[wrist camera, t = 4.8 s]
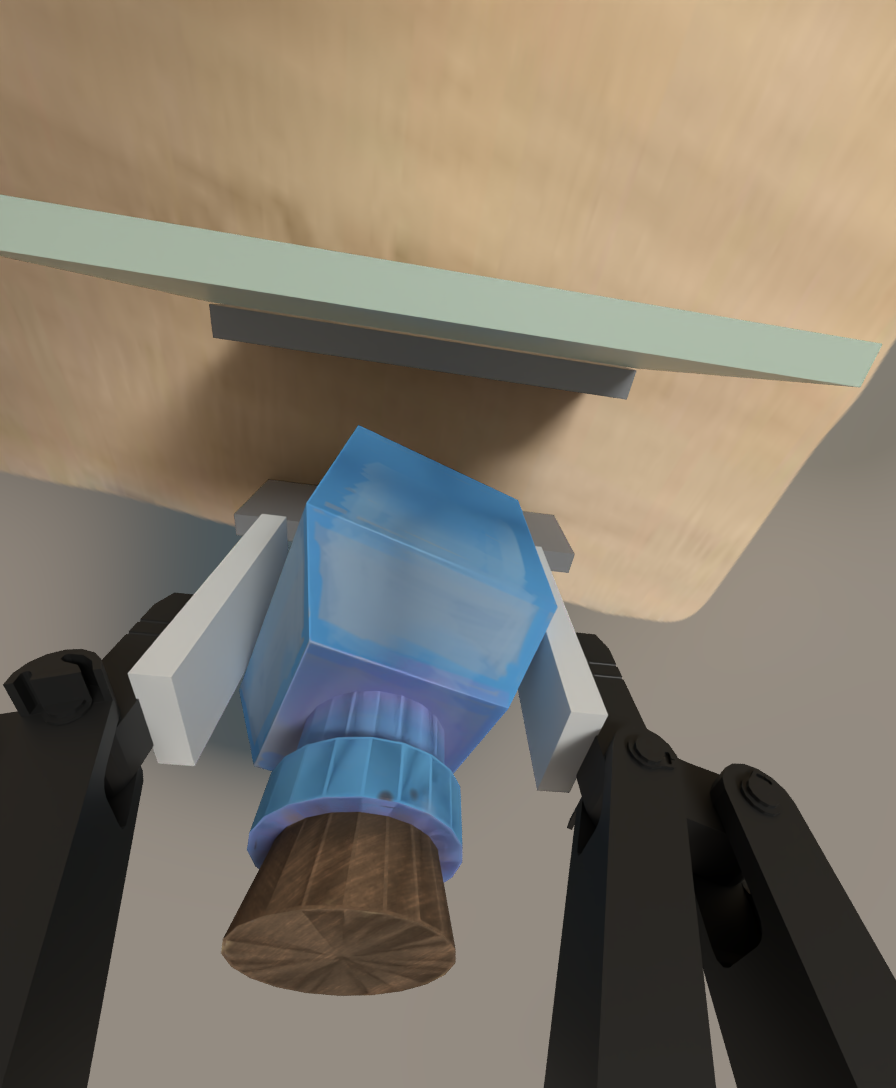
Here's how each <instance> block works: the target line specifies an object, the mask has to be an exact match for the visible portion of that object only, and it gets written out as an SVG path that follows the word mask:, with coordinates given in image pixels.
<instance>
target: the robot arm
mask: <svg viewBox="0 0 896 1088" xmlns="http://www.w3.org/2000/svg"><path fill="white" fill-rule="evenodd" d="M535 547H536V550H537V553H538V555H539V558H540V561H541V564H542V566H543V569H544V572H545V574H546V577H547V580H548V582H549V585H550V588H551V590H552V593H553V596H554V598H555V601H556V604H557V609H556V612H555V614H554V616H553V618H552V620H551V622H550V624H549V626H548V628H547V630H546V632H545V634H544V636H543V638H542V640H541V642H540V644H539V647H538V649H537V651H536V653H535V655H534V657H533V659H532V661H531V663H530V665H529V667H528V669H527V671H526V673H525V675H524V677H523V679H522V682H521V684H520V686H519V688H518V692H519V698H520V703H521V708H522V713H523V718H524V724H525V729H526V734H527V739H528V744H529V750H530V755H531V760H532V766H533V771H534V776H535V781H536V786H537V790H539V791H552V792H567V793H569V792H570V790H571V788H572V786H573V784H574V782H575V780H576V778H577V781H578V784H579V788H580V792H581V795H582V797H581V799H580V801H579V803H578V805H577V807H576V808H575V811H574V812H573V814H572V816H571V818H570V821H569V823H568V826H567V828H569V829H571V830H572V828H573V826H574V825H575V826H574V835H573V843H572V852H571V860H570V869H569V877H568V886H567V895H566V903H565V911H564V920H563V929H562V938H561V946H560V955H559V963H558V971H557V980H556V988H555V997H554V1006H553V1014H552V1022H551V1031H550V1039H549V1048H548V1057H547V1065H546V1075H545V1082H544V1088H716V1084H715V1075H714V1066H713V1057H712V1047H711V1039H710V1029H709V1020H708V1011H707V1002H706V993H705V984H704V974H705V977H706V981H707V984H708V988H709V991H710V995H711V998H712V1002H713V1005H714V1008H715V1012H716V1015H717V1019H718V1022H719V1026H720V1029H721V1033H722V1036H723V1040H724V1043H725V1047H726V1050H727V1054H728V1057H729V1060H730V1064H731V1068H732V1071H733V1074H734V1078H735V1082H736V1085H737V1088H896V980H895V978H894V976H893V975H892V973H891V971H890V969H889V967H888V966H887V964H886V962H885V960H884V959H883V957H882V955H881V953H880V952H879V950H878V948H877V946H876V944H875V943H874V941H873V939H872V937H871V936H870V934H869V932H868V931H867V929H866V927H865V925H864V924H863V922H862V920H861V919H860V916H859V915H858V913H857V911H856V909H855V908H854V906H853V904H852V902H851V901H850V899H849V897H848V895H847V894H846V892H845V890H844V888H843V887H842V885H841V883H840V881H839V880H838V878H837V876H836V874H835V873H834V871H833V869H832V867H831V866H830V864H829V862H828V861H827V859H826V857H825V855H824V853H823V852H822V850H821V848H820V846H819V845H818V843H817V841H816V839H815V838H814V836H813V834H812V833H811V831H810V829H809V827H808V825H807V824H806V822H805V820H804V819H803V817H802V815H801V813H800V811H799V810H798V808H797V806H796V804H795V803H794V801H793V800H792V799H791V797H790V796H789V795H788V793H787V792H786V791H785V789H783V788H782V787H781V786H780V785H779V784H778V783H777V782H776V781H775V780H773V779H772V778H771V777H770V776H768V775H766V774H765V773H763V772H762V771H760V770H758V769H756V768H754V767H751V766H748V765H745V764H731V765H729V766H727V767H726V768H725V769H724V770H723V771H722V772H721V774H720V775H719V774H717V773H714V772H711V771H709V770H706V769H703V768H701V767H698V766H695V765H693V764H690V763H687V762H685V761H683V760H681V759H679V758H677V756H676V754H675V753H674V751H673V750H672V748H671V747H670V745H669V744H668V743H666V742H665V741H664V740H663V739H662V738H661V737H660V736H658V735H657V734H655V733H653V732H651V731H649V730H648V729H647V728H646V726H645V724H644V722H643V720H642V718H641V716H640V714H639V711H638V709H637V707H636V705H635V703H634V701H633V699H632V697H631V695H630V692H629V690H628V688H627V686H626V684H625V682H624V680H622V676H621V673H620V671H619V669H618V667H616V663H615V661H614V659H613V657H612V654H611V652H610V650H609V648H607V646H606V645H605V644H604V643H603V642H602V641H601V640H600V639H599V638H598V637H597V636H596V635H595V634H585V633H575V630H574V628H573V626H572V623H571V620H570V618H569V616H568V613H567V610H566V608H565V605H564V603H563V600H562V598H561V595H560V592H559V590H558V587H557V585H556V582H555V580H554V577H553V575H552V572H551V570H550V567H549V565H548V562H547V560H546V557H545V555H544V552H543V550H542V547H538V546H535ZM287 555H288V538H287V520H286V517H285V516H276V515H268V514H261V515H260V517H259V518H258V519H257V520H256V521H255V522H254V524H253V525H252V526H251V527H250V528H249V530H248V531H247V532H246V533H245V534H244V536H243V537H242V538H241V539H240V540H239V542H238V543H237V544H236V545H235V547H233V549H232V550H231V551H230V552H229V554H228V555H227V556H226V557H225V558H224V559H223V561H222V562H221V563H220V564H219V565H218V567H217V568H216V569H215V570H214V571H213V572H212V574H211V575H210V576H209V577H208V578H207V580H206V581H205V582H204V583H203V584H202V586H201V587H200V588H199V589H198V590H197V591H196V593H195V594H194V595H193V594H183V593H173V594H171V595H170V596H168V597H166V598H164V599H163V600H161V601H159V602H158V603H156V604H154V605H153V606H152V607H151V609H149V611H148V612H147V613H146V614H145V615H144V616H143V617H142V618H141V621H140V622H137V623H136V624H135V625H134V626H133V628H132V629H131V630H130V631H129V634H126V635H125V636H124V637H123V638H122V639H121V640H120V642H118V643H117V644H116V646H115V647H114V648H113V649H112V650H111V651H110V652H109V653H108V654H107V655H106V656H105V657H104V658H103V660H101V658H99V656H98V655H97V654H96V653H94V652H91V651H87V650H83V649H73V650H63V651H59V652H54V653H50V654H47V655H44V656H42V657H40V658H37V659H35V660H33V661H31V662H29V663H27V664H25V665H24V666H23V667H21V668H20V669H18V670H17V671H15V672H14V673H13V674H12V675H11V676H10V677H9V678H8V679H7V681H6V682H5V683H4V684H3V686H4V687H5V689H6V691H7V693H8V695H9V696H10V698H11V700H12V701H13V704H14V705H15V707H16V709H17V712H11V713H5V714H0V1088H87V1085H88V1079H89V1074H90V1067H91V1062H92V1058H93V1052H94V1047H95V1041H96V1035H97V1029H98V1025H99V1019H100V1014H101V1008H102V1002H103V998H104V992H105V987H106V981H107V976H108V970H109V965H110V959H111V954H112V948H113V943H114V937H115V931H116V927H117V921H118V916H119V910H120V905H121V899H122V894H123V889H124V883H125V877H126V871H127V867H128V861H129V855H130V850H131V845H132V840H133V833H134V829H135V823H136V817H137V812H138V807H139V801H140V796H141V790H142V785H143V770H142V768H141V764H142V763H143V761H144V759H145V758H146V757H147V755H148V753H149V752H150V750H151V749H152V747H153V750H154V753H155V756H156V759H157V762H158V763H159V764H173V765H187V766H195V765H196V763H197V761H198V759H199V757H200V755H201V753H202V751H203V750H204V748H205V746H206V744H207V742H208V740H209V738H210V736H211V734H212V733H213V731H214V729H215V727H216V725H217V723H218V721H219V719H220V717H221V716H222V714H223V712H224V710H225V708H226V706H227V704H228V702H229V701H230V699H231V697H232V695H233V693H234V691H235V689H236V687H237V685H238V683H239V682H240V680H241V678H242V676H243V674H244V672H245V670H246V669H247V666H248V664H249V661H250V658H251V655H252V653H253V650H254V647H255V644H256V641H257V639H258V636H259V633H260V630H261V628H262V625H263V622H264V619H265V616H266V614H267V611H268V608H269V605H270V603H271V600H272V597H273V594H274V591H275V589H276V586H277V583H278V580H279V578H280V575H281V572H282V569H283V566H284V564H285V561H286V558H287ZM703 970H704V974H703Z"/></svg>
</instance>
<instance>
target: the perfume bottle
mask: <svg viewBox="0 0 896 1088" xmlns="http://www.w3.org/2000/svg"><path fill="white" fill-rule="evenodd" d="M556 609H557V604H556V601H555V598H554V596H553V593H552V590H551V588H550V585H549V582H548V580H547V577H546V574H545V572H544V569H543V566H542V564H541V561H540V558H539V555H538V553H537V550H536V547H535V545H534V542H533V539H532V537H531V534H530V531H529V529H528V526H527V523H526V520H525V518H524V515H523V512H522V510H521V507H520V504H519V502H518V500H516V499H514V498H512V497H510V496H508V495H506V494H504V493H502V492H499V491H497V490H495V489H493V488H491V487H489V486H487V485H485V484H482V483H480V482H478V481H476V480H474V479H472V478H470V477H468V476H465V475H463V474H461V473H459V472H457V471H455V470H453V469H451V468H449V467H446V466H444V465H442V464H440V463H438V462H436V461H434V460H432V459H429V458H427V457H425V456H423V455H421V454H419V453H417V452H415V451H412V450H410V449H408V448H406V447H404V446H402V445H400V444H398V443H396V442H393V441H391V440H389V439H387V438H385V437H383V436H381V435H379V434H376V433H374V432H372V431H370V430H368V429H366V428H364V427H362V426H359V425H358V426H357V428H356V429H355V431H354V432H353V434H352V435H351V437H350V438H349V440H348V441H347V443H346V444H345V446H344V447H343V449H342V450H341V452H340V453H339V455H338V456H337V458H336V459H335V461H334V462H333V464H332V465H331V467H330V468H329V470H328V471H327V473H326V474H325V476H324V477H323V479H322V480H321V482H320V483H319V485H318V486H317V488H316V489H315V491H314V492H313V494H312V495H311V497H310V498H309V500H308V501H307V503H306V505H305V508H304V511H303V514H302V517H301V519H300V522H299V525H298V528H297V530H296V533H295V536H294V539H293V541H292V544H291V547H290V550H289V553H288V555H287V558H286V561H285V564H284V566H283V569H282V572H281V575H280V578H279V580H278V583H277V586H276V589H275V591H274V594H273V597H272V600H271V603H270V605H269V608H268V611H267V614H266V616H265V619H264V622H263V625H262V628H261V630H260V633H259V636H258V639H257V641H256V644H255V647H254V650H253V653H252V655H251V658H250V661H249V664H248V666H247V669H246V672H245V675H244V678H243V680H242V683H241V686H240V689H239V693H240V698H241V703H242V707H243V713H244V718H245V723H246V728H247V733H248V738H249V743H250V748H251V753H252V759H253V764H254V766H255V767H259V768H262V769H267V770H270V771H272V772H271V775H270V777H269V781H268V783H267V786H266V788H265V792H264V794H263V797H262V800H261V802H260V805H259V808H258V811H257V813H256V816H255V819H254V822H253V824H252V827H251V830H250V833H249V839H248V847H247V851H248V852H249V855H250V857H251V858H252V860H253V862H254V864H255V866H256V867H257V868H258V869H259V871H258V873H257V875H256V877H255V879H254V881H253V883H252V885H251V886H250V888H249V890H248V892H247V894H246V896H245V898H244V900H243V902H242V904H241V906H240V908H239V909H238V911H237V913H236V915H235V917H234V919H233V921H232V923H231V925H230V927H229V929H228V930H227V933H226V934H225V936H224V939H223V943H222V952H221V953H222V955H223V956H224V958H225V959H226V960H227V962H228V963H229V964H230V966H231V967H233V968H234V969H236V970H238V971H240V972H241V973H243V974H244V975H246V976H248V977H249V978H252V979H255V980H258V981H260V982H263V983H266V984H269V985H272V986H275V987H279V988H284V989H289V990H294V991H299V992H304V993H313V994H325V995H337V996H349V995H350V996H351V995H375V994H384V993H391V992H399V991H404V990H407V989H411V988H415V987H418V986H422V985H425V984H428V983H430V982H432V981H434V980H436V979H438V978H439V977H442V976H444V975H445V974H446V973H447V972H448V971H449V970H450V968H451V967H452V966H453V965H454V964H455V944H454V938H453V933H452V927H451V922H450V916H449V911H448V906H447V900H446V893H445V888H444V882H446V881H447V880H449V879H450V878H452V877H453V875H454V874H455V872H456V871H457V869H458V868H459V866H460V865H461V863H462V824H461V823H462V822H461V796H460V795H461V794H460V785H459V784H458V782H457V780H456V778H455V777H454V775H453V773H454V772H455V771H456V770H457V769H458V767H459V766H460V765H461V764H462V762H464V760H465V759H466V758H467V757H468V756H469V754H470V753H471V752H472V751H473V750H474V748H475V747H476V746H477V745H478V744H479V743H480V741H481V740H482V739H483V738H484V737H485V735H486V734H487V733H488V732H489V731H490V730H491V728H492V727H493V726H494V725H495V724H496V722H497V721H498V720H499V719H500V718H501V717H502V715H503V714H504V713H505V712H506V711H507V710H508V708H509V706H510V704H511V702H512V700H513V698H514V696H515V694H516V692H517V690H518V688H519V686H520V684H521V682H522V679H523V677H524V675H525V673H526V671H527V669H528V667H529V665H530V663H531V661H532V659H533V657H534V655H535V653H536V651H537V649H538V647H539V644H540V642H541V640H542V638H543V636H544V634H545V632H546V630H547V628H548V626H549V624H550V622H551V620H552V618H553V616H554V614H555V612H556Z"/></svg>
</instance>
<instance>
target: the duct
mask: <svg viewBox="0 0 896 1088" xmlns="http://www.w3.org/2000/svg"><path fill="white" fill-rule="evenodd" d="M209 307H210V316H211V324H212V333H213V338H219V339H226V340H232V341H239V342H246V343H252V344H259V345H266V346H272V347H279V348H286V349H292V350H299V351H306V352H312V353H319V354H326V355H333V356H339V357H346V358H353V359H359V360H366V361H373V362H379V363H386V364H393V365H399V366H406V367H413V368H419V369H426V370H433V371H439V372H446V373H453V374H460V375H466V376H473V377H480V378H486V379H493V380H500V381H506V382H513V383H520V384H526V385H533V386H540V387H546V388H553V389H560V390H566V391H573V392H580V393H587V394H593V395H600V396H607V397H613V398H620V399H627V397H628V394H629V391H630V388H631V385H632V382H633V379H634V376H635V373H636V370H633V369H630V368H627V367H624V366H618V365H611V364H605V363H598V362H592V361H586V360H579V359H573V358H566V357H560V356H553V355H547V354H541V353H534V352H528V351H521V350H515V349H509V348H502V347H496V346H489V345H483V344H477V343H470V342H464V341H457V340H451V339H445V338H438V337H432V336H425V335H419V334H413V333H406V332H400V331H393V330H387V329H380V328H374V327H368V326H361V325H355V324H348V323H342V322H336V321H329V320H323V319H316V318H310V317H304V316H297V315H291V314H284V313H278V312H272V311H265V310H259V309H252V308H246V307H240V306H233V305H227V304H209ZM316 488H317V486H316V485H308V484H300V483H292V482H284V481H276V480H267V481H266V482H265V483H264V484H263V485H262V486H261V487H260V488H259V489H258V490H257V491H256V492H255V494H254V495H253V496H252V497H251V498H250V499H249V500H248V501H247V502H246V503H245V504H244V505H243V506H242V507H241V508H240V509H239V510H238V511H237V512H236V513H235V514H234V518H235V526H236V534H237V535H241V536H244V534H245V533H246V532H247V531H248V530H249V528H250V527H251V526H252V525H253V524H254V522H255V521H256V520H257V519H258V518H259V517H260V515H261V514H268V515H276V516H285V517H286V520H287V538H288V541H293V539H294V536H295V533H296V530H297V528H298V525H299V522H300V519H301V517H302V514H303V511H304V508H305V505H306V503H307V501H308V500H309V498H310V497H311V495H312V494H313V492H314V491H315V489H316ZM522 512H523V515H524V518H525V520H526V523H527V526H528V529H529V531H530V534H531V537H532V539H533V542H534V545H535V546H538V547H542V550H543V552H544V555H545V557H546V560H547V562H548V565H549V567H550V570H551V571H556V572H565V573H569V570H570V567H571V564H572V561H573V558H574V555H575V554H574V552H573V550H572V548H571V546H570V544H569V543H568V541H567V539H566V537H565V535H564V533H563V531H562V529H561V528H560V526H559V524H558V522H557V520H556V518H555V516H554V515H549V514H541V513H533V512H524V511H522Z"/></svg>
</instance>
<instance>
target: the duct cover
mask: <svg viewBox="0 0 896 1088" xmlns="http://www.w3.org/2000/svg"><path fill="white" fill-rule="evenodd" d="M0 256H3V257H7V258H12V259H16V260H21V261H25V262H30V263H34V264H39V265H44V266H48V267H53V268H57V269H62V270H66V271H71V272H76V273H80V274H85V275H89V276H94V277H98V278H103V279H107V280H112V281H117V282H121V283H126V284H130V285H135V286H139V287H144V288H149V289H153V290H158V291H162V292H167V293H171V294H176V295H181V296H185V297H190V298H194V299H199V300H203V301H208V302H214V303H220V304H227V305H233V306H240V307H246V308H252V309H259V310H265V311H272V312H278V313H284V314H291V315H297V316H304V317H310V318H316V319H323V320H329V321H336V322H342V323H348V324H355V325H361V326H368V327H374V328H380V329H387V330H393V331H400V332H406V333H413V334H419V335H425V336H432V337H438V338H445V339H451V340H457V341H464V342H470V343H477V344H483V345H489V346H496V347H502V348H509V349H515V350H521V351H528V352H534V353H541V354H547V355H553V356H560V357H566V358H573V359H579V360H586V361H592V362H598V363H605V364H611V365H618V366H624V367H630V368H637V369H648V370H660V371H672V372H684V373H696V374H708V375H719V376H731V377H743V378H755V379H767V380H779V381H790V382H802V383H814V384H826V385H838V386H850V387H861V385H862V383H863V381H864V379H865V377H866V375H867V373H868V371H869V369H870V367H871V365H872V363H873V362H874V360H875V358H876V356H877V354H878V352H879V350H880V348H881V346H882V344H880V343H874V342H868V341H863V340H857V339H851V338H845V337H839V336H833V335H827V334H821V333H815V332H809V331H803V330H798V329H792V328H786V327H780V326H774V325H768V324H762V323H756V322H750V321H744V320H738V319H733V318H727V317H721V316H715V315H709V314H703V313H697V312H691V311H685V310H679V309H673V308H668V307H662V306H656V305H650V304H644V303H638V302H632V301H626V300H620V299H614V298H608V297H603V296H597V295H591V294H585V293H579V292H573V291H567V290H561V289H555V288H549V287H543V286H538V285H532V284H526V283H520V282H514V281H508V280H502V279H496V278H490V277H484V276H478V275H472V274H467V273H461V272H455V271H449V270H443V269H437V268H431V267H425V266H419V265H413V264H407V263H402V262H396V261H390V260H384V259H378V258H372V257H366V256H360V255H354V254H348V253H342V252H337V251H331V250H325V249H319V248H313V247H307V246H301V245H295V244H289V243H283V242H277V241H272V240H266V239H260V238H254V237H248V236H242V235H236V234H230V233H224V232H218V231H212V230H207V229H201V228H195V227H189V226H183V225H177V224H171V223H165V222H159V221H153V220H147V219H142V218H136V217H130V216H124V215H118V214H112V213H106V212H100V211H94V210H88V209H82V208H77V207H71V206H65V205H59V204H53V203H47V202H41V201H35V200H29V199H23V198H17V197H12V196H6V195H0Z"/></svg>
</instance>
